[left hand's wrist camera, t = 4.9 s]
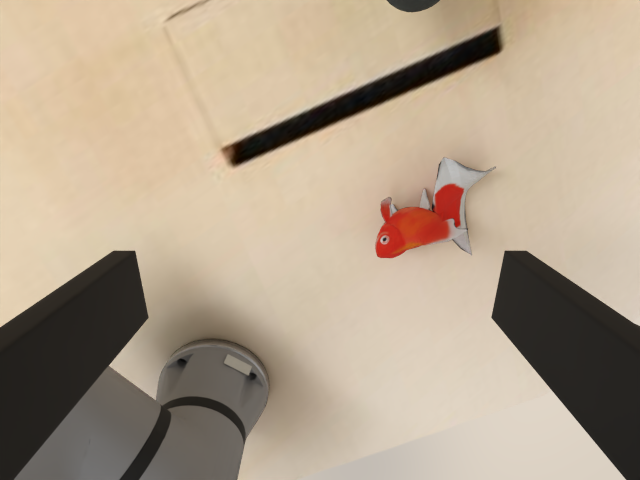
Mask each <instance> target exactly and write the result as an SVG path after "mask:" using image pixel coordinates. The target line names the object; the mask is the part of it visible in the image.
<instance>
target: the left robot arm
mask: <svg viewBox="0 0 640 480" xmlns="http://www.w3.org/2000/svg"><path fill="white" fill-rule="evenodd" d="M147 319H148V313H147V308H146V303H145V298H144V293H143V288H142V283H141V278H140V273H139V268H138V263H137V258H136V253H135V251H113V252H111V253H110V254H108V255H107V256H105V257H104V258H102V259H101V260H99V261H98V262H96V263H95V264H93V265H92V266H90V267H89V268H87V269H86V270H85V271H83V272H82V273H80V274H79V275H77V276H76V277H74V278H73V279H71V280H70V281H68V282H67V283H65V284H64V285H62V286H61V287H59V288H58V289H56V290H55V291H53V292H52V293H50V294H49V295H48V296H46V297H45V298H43V299H42V300H40V301H39V302H37V303H36V304H34V305H33V306H31V307H30V308H28V309H27V310H25V311H24V312H22V313H21V314H19V315H18V316H16V317H15V318H14V319H12V320H11V321H9V322H8V323H6V324H5V325H3V326H2V327H0V480H237V478H238V473H239V469H240V464H241V459H242V454H243V449H244V444H245V440H246V438H247V436H248V435H249V433H250V431H251V430H252V428H253V427H254V425H255V423H256V422H257V420H258V419H259V417H260V415H261V414H262V412H263V410H264V408H265V406H266V403H267V398H268V393H269V378H268V374H267V372H266V369H265V367H264V366H263V364H262V363H261V361H260V360H259V359H258V358H257V357H256V356H255V355H254V354H253V353H251V352H250V351H249V350H247V349H246V348H244V347H242V346H240V345H238V344H235V343H232V342H229V341H224V340H217V339H206V340H199V341H195V342H192V343H189V344H187V345H185V346H183V347H181V348H180V349H178V350H177V351H176V352H175V353H174V354H173V355H172V356H171V357H170V358H169V360H168V361H167V363H166V365H165V366H164V368H163V370H162V372H161V375H160V378H159V382H158V389H157V396H156V400H154V399H153V398H151V397H150V396H149V395H147V394H146V393H145V392H143V391H142V390H141V389H139V388H138V387H137V386H135V385H134V384H132V383H131V382H130V381H128V380H127V379H126V378H124V377H123V376H122V375H120V374H119V373H118V372H116V371H115V370H114V369H112V368H111V367H110V366H109V365H110V363H111V362H112V361H113V360H114V358H115V357H116V356H117V355H118V354H119V352H120V351H121V350H122V349H123V348H124V346H125V345H126V344H127V343H128V342H129V340H130V339H131V338H132V337H133V336H134V334H135V333H136V332H137V331H138V330H139V328H140V327H141V326H142V325H143V324H144V322H145V321H146V320H147ZM492 319H493V320H494V321H495V322H496V324H497V325H498V326H499V327H500V328H501V330H502V331H503V332H504V333H505V334H506V336H507V337H508V338H509V339H510V340H511V342H512V343H513V344H514V345H515V346H516V348H517V349H518V350H519V351H520V352H521V354H522V355H523V356H524V357H525V359H526V360H527V361H528V362H529V363H530V365H531V366H532V367H533V368H534V369H535V371H536V372H537V373H538V374H539V375H540V377H541V378H542V379H543V380H544V381H545V383H546V384H547V385H548V386H549V387H550V389H551V390H552V391H553V392H554V393H555V395H556V396H557V397H558V398H559V399H560V401H561V402H562V403H563V404H564V405H565V407H566V408H567V409H568V410H569V411H570V413H571V414H572V415H573V416H574V417H575V419H576V420H577V421H578V422H579V423H580V425H581V426H582V427H583V428H584V429H585V431H586V432H587V433H588V434H589V435H590V437H591V438H592V439H593V440H594V441H595V443H596V444H597V445H598V446H599V448H600V449H601V450H602V451H603V452H604V454H605V455H606V456H607V457H608V458H609V460H610V461H611V462H612V463H613V464H614V466H615V467H616V468H617V469H618V470H619V472H620V473H621V474H622V475H623V476H624V478H625V479H626V480H640V326H638V325H636V324H634V323H632V322H631V321H629V320H628V319H626V318H625V317H624V316H622V315H621V314H619V313H618V312H616V311H615V310H613V309H612V308H610V307H609V306H607V305H606V304H604V303H603V302H601V301H600V300H598V299H597V298H595V297H594V296H592V295H591V294H590V293H588V292H587V291H585V290H584V289H582V288H581V287H579V286H578V285H576V284H575V283H573V282H572V281H570V280H569V279H567V278H566V277H564V276H563V275H561V274H560V273H558V272H557V271H555V270H554V269H553V268H551V267H550V266H548V265H547V264H545V263H544V262H542V261H541V260H539V259H538V258H536V257H535V256H533V255H532V254H530V253H529V252H527V251H505V253H504V258H503V263H502V268H501V273H500V278H499V283H498V288H497V293H496V298H495V303H494V308H493V313H492Z"/></svg>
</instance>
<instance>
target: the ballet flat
mask: <svg viewBox="0 0 640 480" xmlns="http://www.w3.org/2000/svg"><path fill="white" fill-rule="evenodd" d="M387 1H388V2H389V3H390V4H391V5H392V6H394V7H395V8H397V9H399V10H402V11H406V12H418V11H422V10H425V9H428V8H429V7H432V6H433V5H435V4H436V3H437V2H439V1H440V0H387Z"/></svg>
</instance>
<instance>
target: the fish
mask: <svg viewBox="0 0 640 480" xmlns="http://www.w3.org/2000/svg"><path fill="white" fill-rule="evenodd" d="M495 168H496V167H493V168H491V169H489V170H487V171H478V170H474V169H471V168H468V167H465V166H463V165H462V164H460V163H458V162H456V161H454V160H451V159H448V158H443V159H442V161H441V162H440V164H439V168H438V175H437V180H436V185H435V190H434V197H433V204H432V210H433V211H430V210H429V209H430V204H429V201H428V197H427V194H426V189H425V188H424V189H423V193H422V196H421V202H420V207H407V208H403V209H400V210H397V209H396V208H395V206H394V205H393V204H392V205H391V198H390V197H388V198H386V199H385V200H383V201H382V202H381V214H382V217H383V219H384V221H385V223H384V225H383V226H382V227H381V230H380V232H379V234H378V236H377V239H376V244H375V248H376V253H377V256H378V257H380V258H394V257H396V256H399V255H401V254H402V253H404V252H405V251H406V250H409V249H412V248H416V247H419V246H421V245H429V244H434V243H440V242H446V241H450V240H453V241H454V242H455V243H456V244H457V245H458V246H459V247H460V248H461V249H462V250H464V251H465V252H467V253H469V254H470V255H472V253H471V247H470V242H469V237H468V229H467V224H466V216H465V197H466V193H467V191H468V189H469V188H470V187H471V186H472V185H474V184H475V183H476V182H478V181H479V180H480V179H481V178H483V177H484V176H485V175H487V174H488V173H489V172H491V171H492V170H493V169H495Z"/></svg>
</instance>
